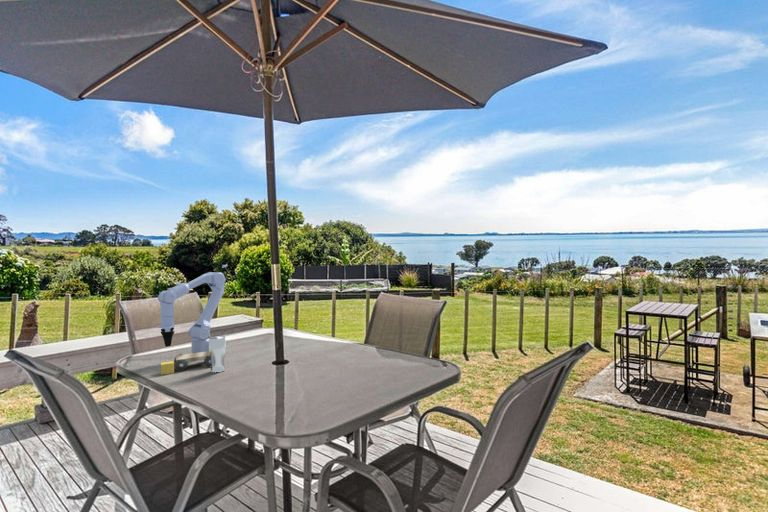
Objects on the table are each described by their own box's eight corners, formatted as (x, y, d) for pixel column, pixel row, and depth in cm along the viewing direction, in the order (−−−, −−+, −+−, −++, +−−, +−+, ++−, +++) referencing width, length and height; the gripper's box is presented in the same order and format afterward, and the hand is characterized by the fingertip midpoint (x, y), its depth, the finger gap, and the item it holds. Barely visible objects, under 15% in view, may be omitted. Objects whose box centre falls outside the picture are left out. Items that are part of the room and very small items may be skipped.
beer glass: (205, 372, 172) (205, 338, 172) (219, 368, 178) (218, 335, 178) (216, 374, 169) (215, 339, 169) (229, 370, 175) (229, 336, 175)
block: (173, 370, 175) (173, 360, 175) (174, 373, 172) (173, 363, 172) (161, 372, 173) (160, 362, 173) (161, 375, 169) (160, 364, 169)
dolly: (213, 360, 192) (213, 340, 192) (216, 366, 181) (216, 345, 181) (174, 365, 183) (174, 344, 183) (175, 372, 173) (174, 350, 173)
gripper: (157, 314, 190) (158, 342, 190) (157, 319, 177) (158, 348, 177) (174, 313, 193) (174, 340, 193) (175, 317, 181) (175, 346, 181)
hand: (167, 344), depth 186 cm, fingers open, 7 cm apart
